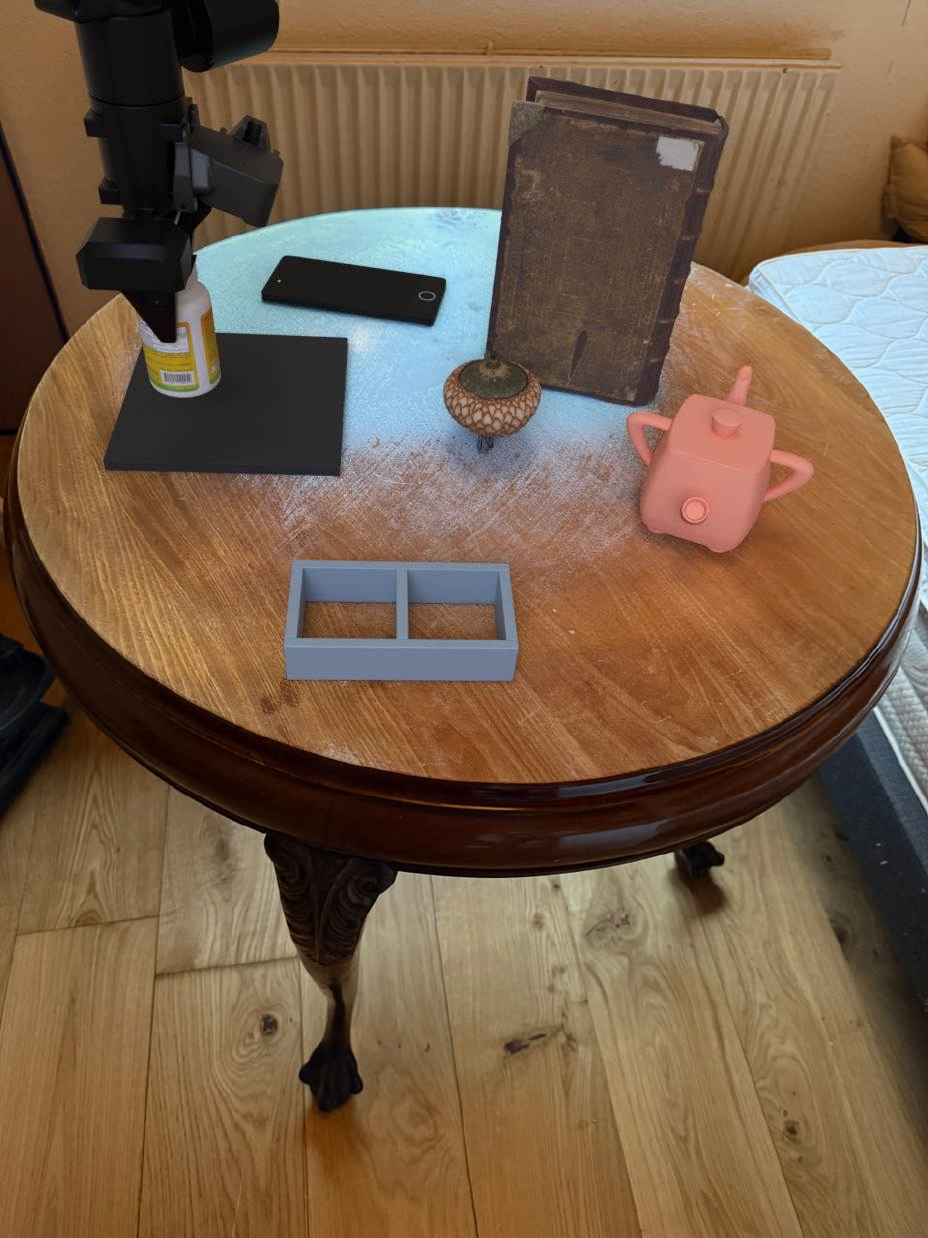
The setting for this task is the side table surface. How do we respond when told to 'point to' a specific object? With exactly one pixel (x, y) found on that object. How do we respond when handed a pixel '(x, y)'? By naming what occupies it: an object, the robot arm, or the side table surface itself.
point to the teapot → (712, 468)
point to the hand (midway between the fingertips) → (175, 321)
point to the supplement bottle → (185, 346)
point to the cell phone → (355, 289)
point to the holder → (400, 621)
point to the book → (598, 235)
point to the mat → (241, 412)
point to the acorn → (491, 398)
